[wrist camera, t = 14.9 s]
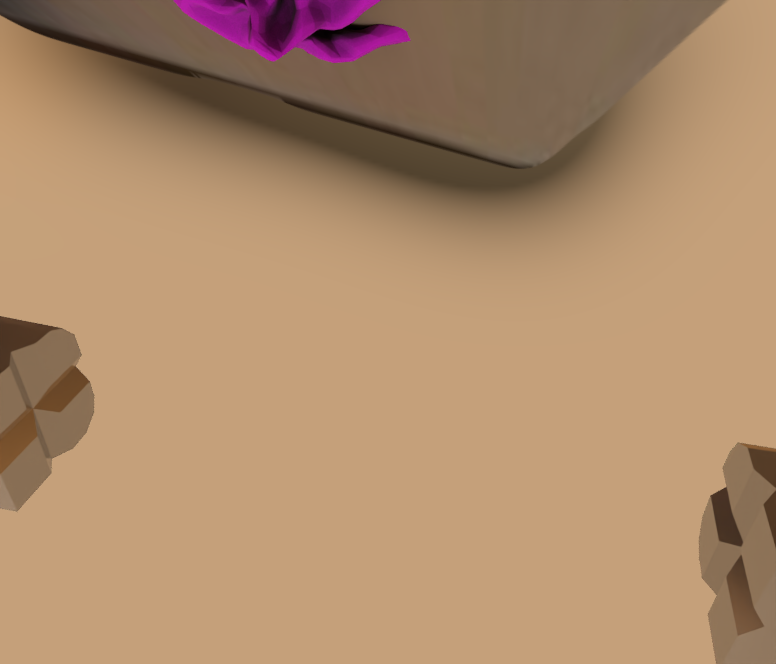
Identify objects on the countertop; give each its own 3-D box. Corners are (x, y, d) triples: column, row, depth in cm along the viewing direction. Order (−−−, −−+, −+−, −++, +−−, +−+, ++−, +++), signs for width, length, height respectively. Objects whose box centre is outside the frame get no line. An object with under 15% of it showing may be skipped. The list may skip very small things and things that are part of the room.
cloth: (183, 21, 57) (163, 87, 57) (109, -160, 39) (77, -66, 38) (435, 90, 58) (418, 156, 57) (479, -54, 40) (454, 40, 39)
